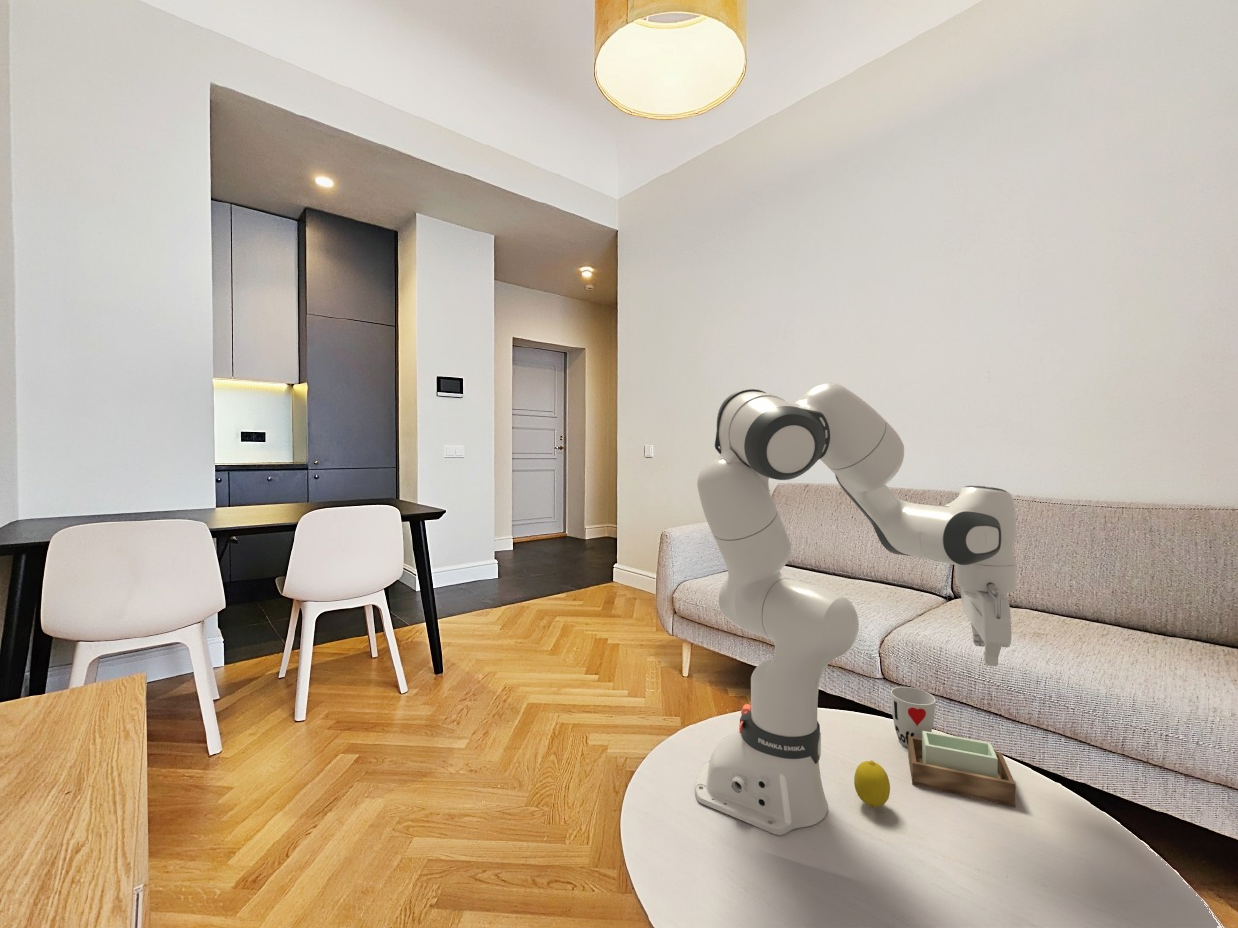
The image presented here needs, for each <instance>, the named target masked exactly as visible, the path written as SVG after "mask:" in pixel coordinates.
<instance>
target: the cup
mask: <svg viewBox="0 0 1238 928" xmlns="http://www.w3.org/2000/svg"><path fill="white" fill-rule="evenodd" d="M890 701H891V702H890V703H891V714H892V718H893V719H892V720H893V725H894V730H895V732H896V735H897V739H898V742H899V743H900V744H901V745H902V746H904V747H905V748H906V747H907V748H908V736H912V737H917V738H922V731H927V732H933V726H934V722H935V714H936V713H935V712H936V711H935V709H936V698H935V696H934V695H933V694H931V693H929V692H927V691H926V690H922V689H920V688H915V687H909V686H897V687H893V688H892V689H891V690H890Z"/></svg>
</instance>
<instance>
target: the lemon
mask: <svg viewBox="0 0 1238 928" xmlns="http://www.w3.org/2000/svg"><path fill="white" fill-rule="evenodd" d="M853 779H854V782H853V783H854V789H855V793H856V795H857V796H858V797H859V800H861V802H862V803H864V804H866V805H868V806H869V807H870V808H871V809H874V808H879V807H882V806H884V805H885V804H886V803H887V801H889V797H890V795H891V794H890V793H891V783H890V779H889V776H888V774H887V772H886V770H885V769H884V767H883V766H881V765H880V764H879V763H877V762H875V761H874V760H866V761H862V762H861V763H859V764H858V766H857V767H856V769H855V773H854V778H853Z"/></svg>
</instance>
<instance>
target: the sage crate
mask: <svg viewBox="0 0 1238 928" xmlns="http://www.w3.org/2000/svg"><path fill="white" fill-rule="evenodd" d="M995 752H996V751H995V749H994V748H993V745H992V743H991V742H989V741H982V740H976V739H971V738H966V737H961V736H960V737H959V736H954V735H949V734H943V733H940V732H939V733H937V732H933V731H932V732H927V731H922V762H923V763H925V764H930V765H935V766H940V767H944V768H949V769H954V770H959V771H964V772H969V773H974V774H979V775H984V776H988V777H993V778H998V758H997V756H996V754H995Z"/></svg>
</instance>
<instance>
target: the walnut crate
mask: <svg viewBox="0 0 1238 928" xmlns="http://www.w3.org/2000/svg"><path fill="white" fill-rule="evenodd" d="M907 749H908V750H907V756H908V764H909V771H910V777H911V784H912V785H913V786H917V787H922V788H927V789H931V790H936V791H939V792H944V793H949V794H954V795H959V796H963V797H967V798H971V799H976V800H981V801H985V802H989V803H993V804H999V805H1005V806H1007V807H1012V808H1013V807H1014V808H1016V791H1017V789H1016V788H1017V787H1016V782H1015V780H1014V777H1013V776H1012V774H1011V771H1010V769H1009V767H1008V764H1007V762H1006V760H1005V758H1004V755H1003V753H1002V752H997V751H994V752H995V754H996V756H997V758H998V778H993V777H988V776H984V775H979V774H974V773H969V772H964V771H959V770H954V769H949V768H944V767H940V766H935V765H930V764H925V763H923V762H922V738H917V737H912V736H908V747H907Z"/></svg>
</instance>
